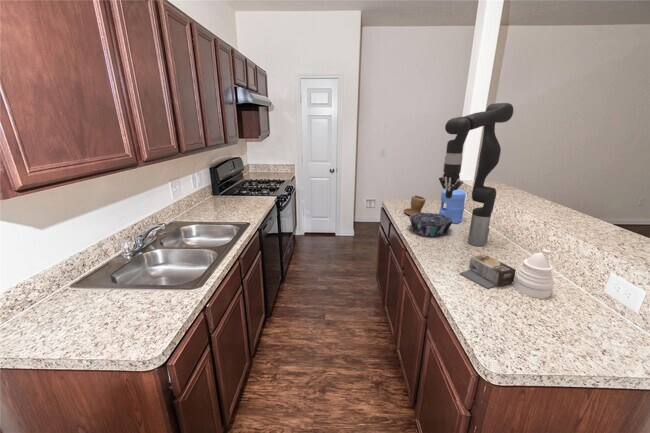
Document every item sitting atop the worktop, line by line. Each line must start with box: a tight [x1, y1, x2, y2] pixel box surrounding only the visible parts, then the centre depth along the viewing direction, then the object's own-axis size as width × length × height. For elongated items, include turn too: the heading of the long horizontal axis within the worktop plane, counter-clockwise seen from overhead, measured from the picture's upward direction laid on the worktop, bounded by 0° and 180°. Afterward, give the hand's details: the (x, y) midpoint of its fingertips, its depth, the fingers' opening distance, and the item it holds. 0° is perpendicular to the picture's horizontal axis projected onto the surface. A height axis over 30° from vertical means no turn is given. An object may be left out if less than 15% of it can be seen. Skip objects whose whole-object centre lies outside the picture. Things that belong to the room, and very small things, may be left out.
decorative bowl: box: [409, 212, 453, 238], centre depth 181 cm, size 26×28×10 cm
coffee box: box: [468, 254, 517, 287], centre depth 126 cm, size 9×6×16 cm
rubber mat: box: [459, 269, 498, 290], centre depth 126 cm, size 14×14×1 cm
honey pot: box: [512, 249, 555, 299], centre depth 114 cm, size 13×13×18 cm
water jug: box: [438, 187, 467, 225], centre depth 197 cm, size 16×16×28 cm
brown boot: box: [403, 195, 426, 217], centre depth 211 cm, size 15×12×15 cm
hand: (448, 198), depth 139 cm, fingers closed
